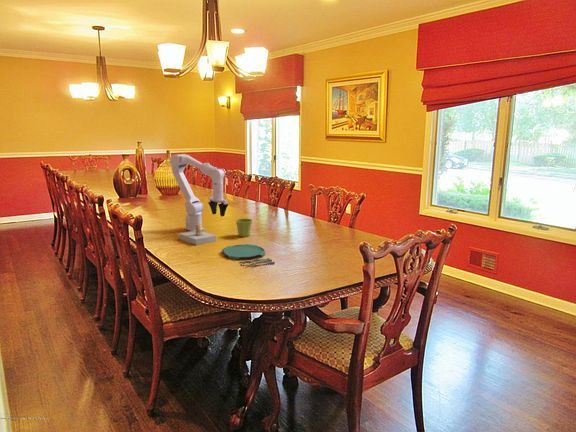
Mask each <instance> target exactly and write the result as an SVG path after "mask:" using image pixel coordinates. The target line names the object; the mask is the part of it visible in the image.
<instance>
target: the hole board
mask: <svg viewBox="0 0 576 432" xmlns="http://www.w3.org/2000/svg"><path fill="white" fill-rule="evenodd" d="M178 237H179V238H178V239H179V240H181V241H183V242H185V243H189V244H192V245H195V246H199V245H200V246H201V245H205V244H208V242H209V243H213V241H214V242H216V241H217V235H216V234H213V233H210V232H207V231H204V230H202V235H201V236H196V230H195V231H190V230H189V231H185V232H180V233H178ZM204 243H205V244H204Z"/></svg>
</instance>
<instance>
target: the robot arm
mask: <svg viewBox="0 0 576 432" xmlns="http://www.w3.org/2000/svg"><path fill="white" fill-rule="evenodd" d="M169 163H170V166H171V172H172V174H173V177H174V179H175V181H176V184H177V185H178V187H179V189H180V191H181V193H182V195H183V198H184V199H185V203H184V206H185V212H186V213H187V214H186V216H185V227H184V229H185V230H188V231H189V232H190V231H195V230H196V226H195V225H196V224H201V229H202V231H204V230H206V229H205V228H204V227H203V222H202V216H203V215H202V213H203V211H204V208H205V207H204V204H203V203H202V201H200V199H199V198H198V197H197V196H195V194H194V191H193V190H192V187H191V185H190V183H189V182H188V180H187V178H186V176H185V175H186V174H185V173H184V170H185V168H186V167H187V166H188V165H190V166H192V167H194V168H197V169H199V170H200V172H201V173H202V174H204V175H206V176H209V177H210V178H211V181H212V182H211V183H212V196H209V197H208V202H207V204H208V205H209V207H210V210H211V215H216V214H217V210H218V209H219V216H220V217H225V214H226V210H227V208H228V206H229V204H228V202H229V200H227V199H225V198H224V179H225V177H226V174H225V170H223V169H222V168H218V167H217V166H213V165H211V164H210V162H204V163H203V162H201V161H199V160H197V159H196V158H194V157H192V156H191V155H188V154H186V153H182V154H181V153H180V154H179V153H178V154H172V155H171V157H170V160H169ZM217 208H218V209H217Z"/></svg>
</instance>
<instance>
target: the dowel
mask: <svg viewBox="0 0 576 432" xmlns="http://www.w3.org/2000/svg"><path fill="white" fill-rule="evenodd" d="M195 226H196V236H201V235H202V231H203V230H202V229H201V224H196V225H195Z"/></svg>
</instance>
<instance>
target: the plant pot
mask: <svg viewBox="0 0 576 432" xmlns="http://www.w3.org/2000/svg"><path fill="white" fill-rule="evenodd" d="M234 221H235V222H236V226H237V234H238V237H242V238H244V237H245V238H246V237H249V236H250V235H251V229H252V228H251V227H252V223H253V221H254V220H253V219H251V218H237V219H235V220H234Z"/></svg>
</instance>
